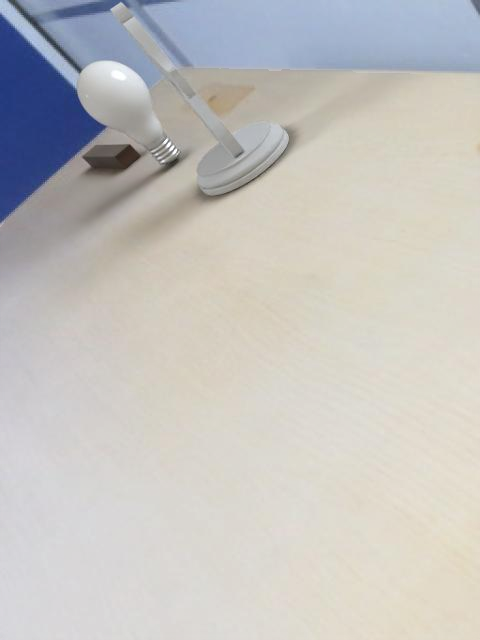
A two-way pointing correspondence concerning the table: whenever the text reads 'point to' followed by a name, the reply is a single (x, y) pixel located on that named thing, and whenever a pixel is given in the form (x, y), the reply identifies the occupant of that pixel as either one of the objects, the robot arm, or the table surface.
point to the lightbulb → (124, 106)
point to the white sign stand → (214, 125)
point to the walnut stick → (111, 156)
